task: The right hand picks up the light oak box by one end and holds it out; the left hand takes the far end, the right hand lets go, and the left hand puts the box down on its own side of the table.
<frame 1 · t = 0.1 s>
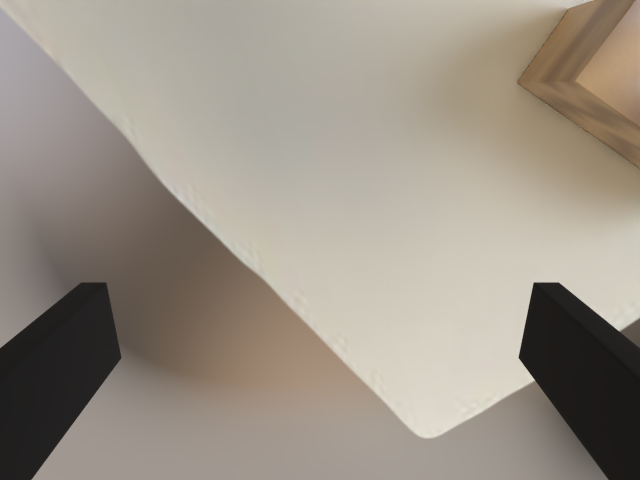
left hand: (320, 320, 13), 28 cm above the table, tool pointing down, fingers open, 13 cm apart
box: (633, 112, 37), on the table
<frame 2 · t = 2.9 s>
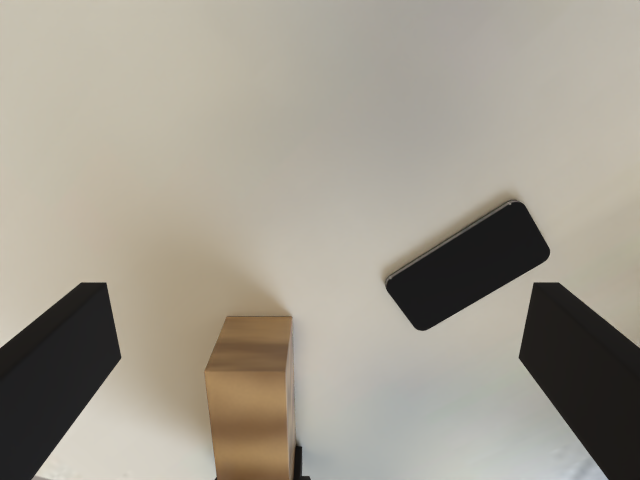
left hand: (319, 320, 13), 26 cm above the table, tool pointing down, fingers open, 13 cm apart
smartphone: (463, 266, 41), on the table
box: (264, 400, 46), on the table, touching right hand
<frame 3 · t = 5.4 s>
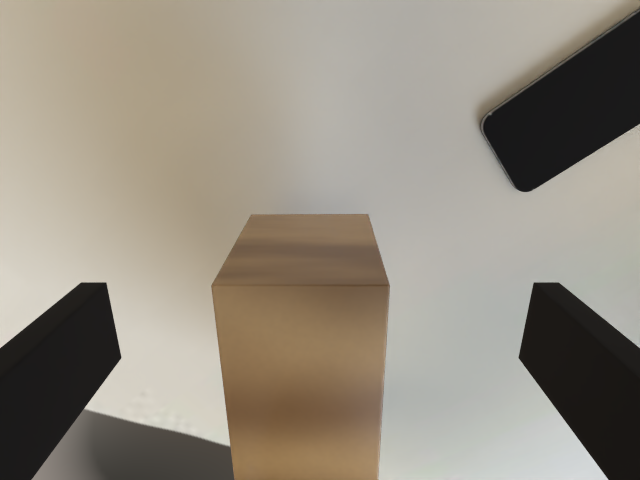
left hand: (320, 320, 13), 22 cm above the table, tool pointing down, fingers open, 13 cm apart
smartphone: (586, 99, 31), on the table
box: (312, 366, 28), point 10 cm above the table, touching right hand
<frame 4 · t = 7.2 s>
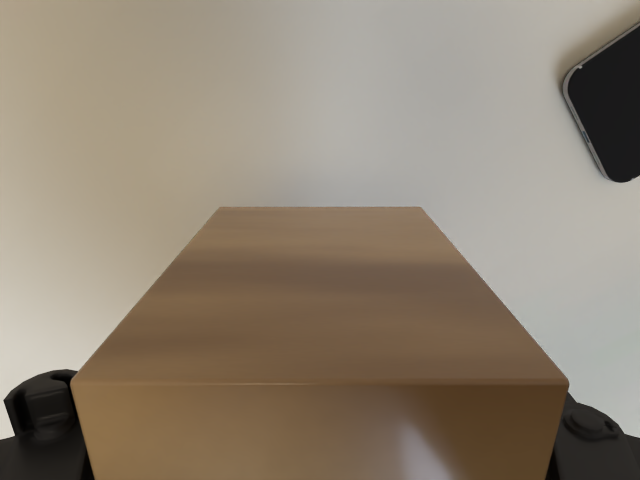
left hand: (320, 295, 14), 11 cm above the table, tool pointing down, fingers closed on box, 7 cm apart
box: (320, 451, 18), point 10 cm above the table, touching left hand, right hand
when the right hand's fingers open (10 cm above the table, at t = 8.2 s): box stays where it is, held by the left hand.
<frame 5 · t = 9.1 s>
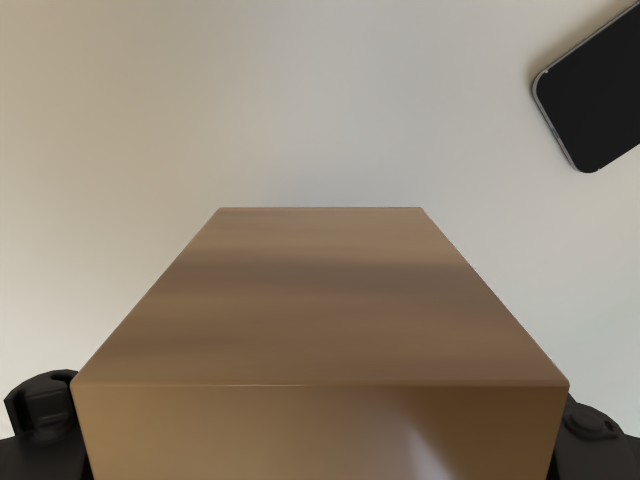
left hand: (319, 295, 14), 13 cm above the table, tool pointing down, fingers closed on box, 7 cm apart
box: (320, 451, 18), point 13 cm above the table, touching left hand
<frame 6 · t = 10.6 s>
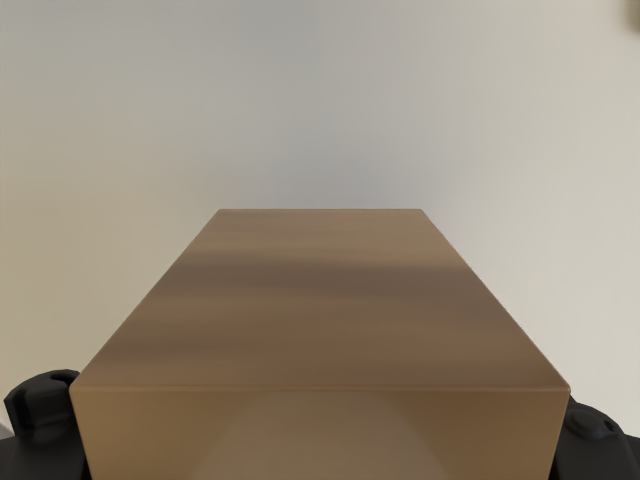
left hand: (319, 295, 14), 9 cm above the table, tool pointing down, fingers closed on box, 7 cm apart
box: (320, 453, 18), point 9 cm above the table, touching left hand
when the left hand's fingers open (2 cm above the table, at t = 11.7 s): box drops 1 cm, on the table.
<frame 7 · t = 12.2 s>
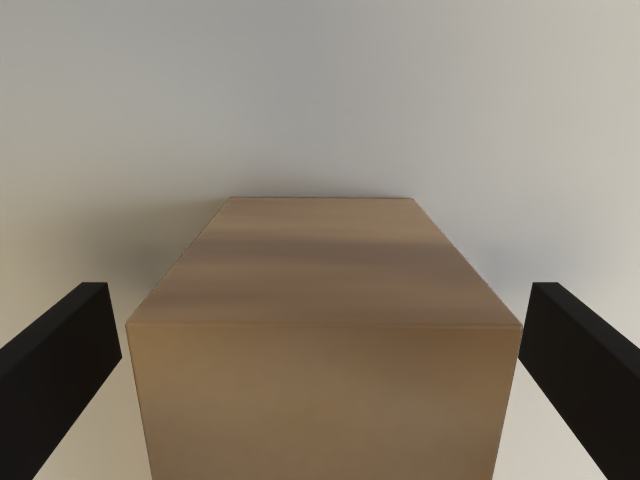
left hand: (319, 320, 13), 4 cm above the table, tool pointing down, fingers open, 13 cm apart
box: (319, 426, 19), on the table
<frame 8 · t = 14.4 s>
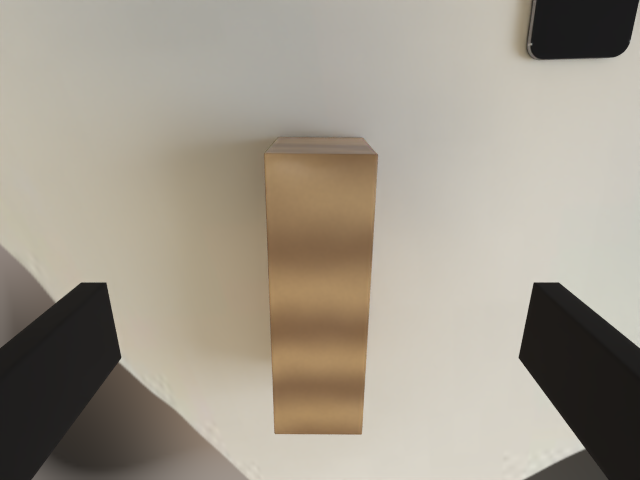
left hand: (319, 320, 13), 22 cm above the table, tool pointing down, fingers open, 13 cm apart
box: (319, 262, 36), on the table
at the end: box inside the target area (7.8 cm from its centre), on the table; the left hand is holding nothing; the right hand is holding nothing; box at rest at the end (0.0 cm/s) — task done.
